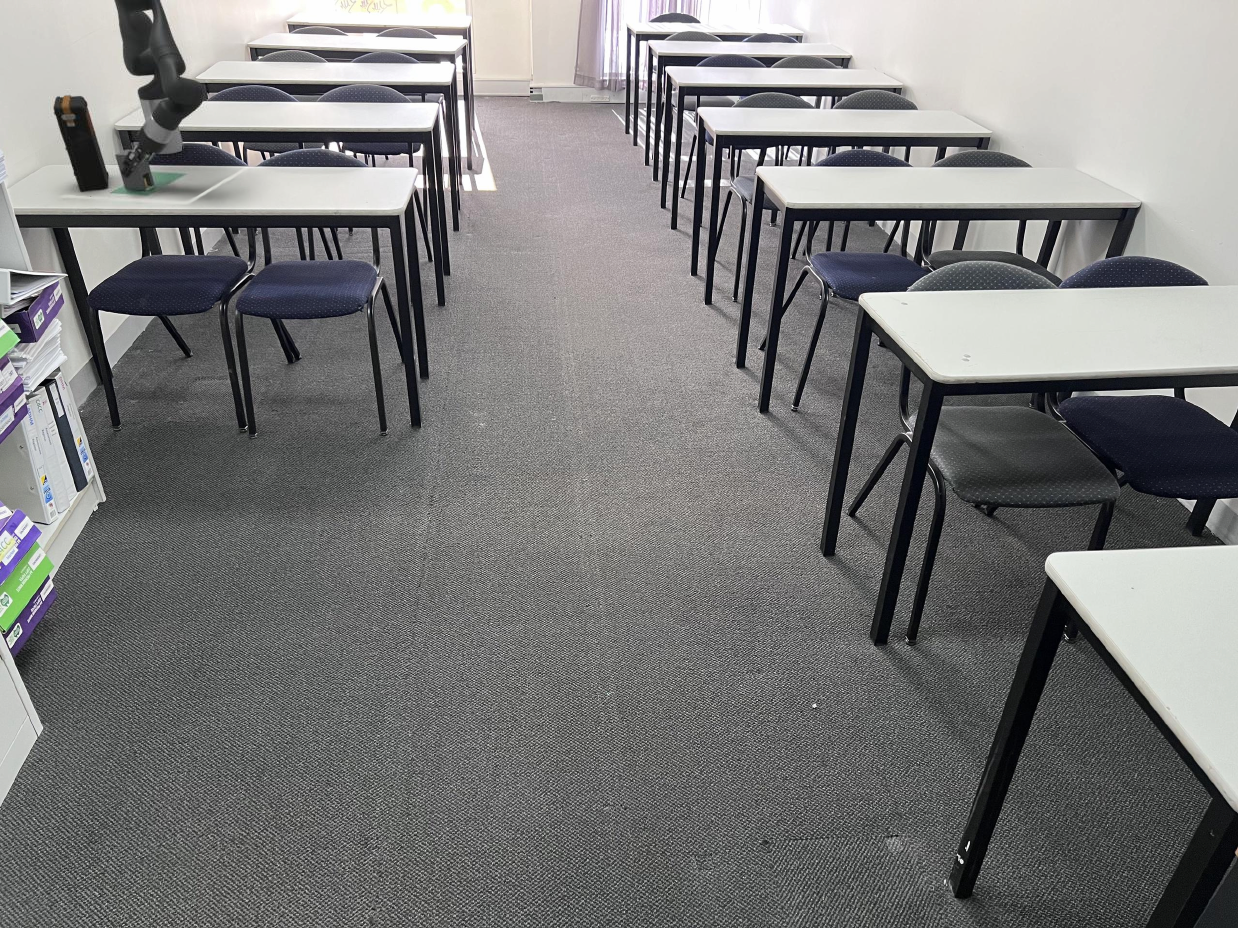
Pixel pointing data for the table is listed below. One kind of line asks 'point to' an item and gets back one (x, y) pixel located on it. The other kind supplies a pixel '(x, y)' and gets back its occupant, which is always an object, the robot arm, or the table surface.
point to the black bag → (81, 142)
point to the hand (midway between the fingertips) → (130, 172)
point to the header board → (159, 182)
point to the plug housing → (135, 173)
